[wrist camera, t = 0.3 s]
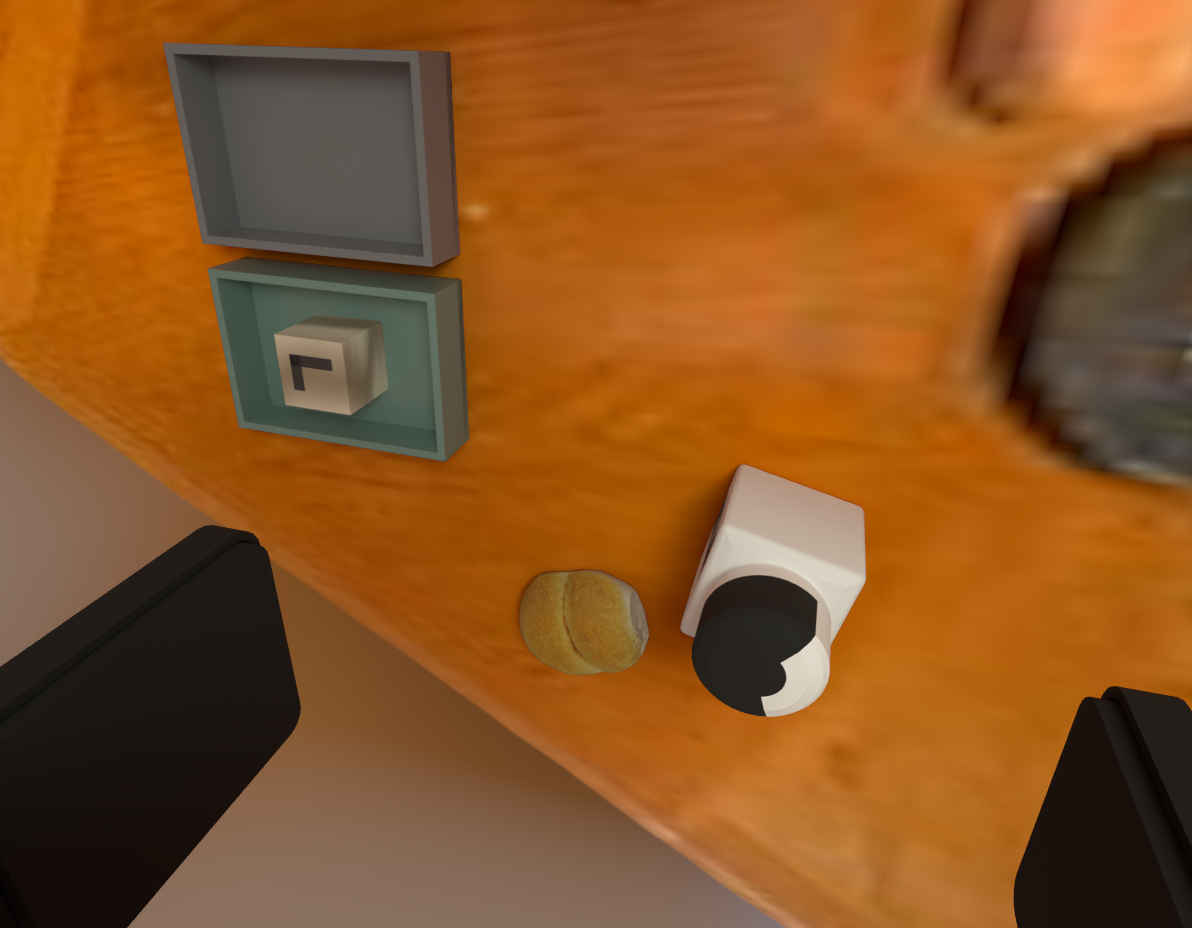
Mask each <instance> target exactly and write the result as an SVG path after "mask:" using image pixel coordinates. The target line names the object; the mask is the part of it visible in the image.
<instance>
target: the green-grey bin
mask: <svg viewBox="0 0 1192 928" xmlns="http://www.w3.org/2000/svg"><path fill="white" fill-rule="evenodd" d="M208 273H209V278H210V283H211V288H212V293H213V298H214V303H215V308H216V313H217V318H218V323H219V328H220V333H221V338H222V344H223V349H224V354H225V359H226V364H227V369H228V374H229V379H230V384H231V389H232V394H233V399H234V404H235V409H236V414H237V420H238V425H239V427H241V428H247V429H253V430H259V431H265V432H271V433H277V434H283V435H289V436H295V437H301V438H307V439H313V440H319V441H325V442H331V443H337V444H343V445H349V446H355V447H361V448H367V449H373V450H379V451H385V452H391V453H397V454H403V455H409V456H415V457H421V458H427V459H433V460H439V461H445V462H446V461H447V460H448V459H449V458H450V457H451V456H452V455H453V454H454V453H455V452H456V451H457V450H458V449H459V448H460V447H461V446H462V445H463V444H464V443H465V442H466V441H467V440H468V439H469V426H468V406H467V386H466V366H465V346H464V326H463V306H462V286H461V279H452V278H442V277H433V276H423V275H414V274H404V273H395V272H386V271H376V270H367V269H357V268H348V267H338V266H329V265H319V264H310V263H300V262H291V261H281V260H272V259H262V258H253V257H244V258H241V259H237V260H234V261H231V262H228V263H225V264H221V265H218V266H215V267H212V268H208ZM317 314H325V315H333V316H341V317H349V318H357V319H365V320H374V321H382V327H383V337H384V347H385V357H386V367H387V377H388V387H389V389H388V390H386V391H385V392H383V393H382V394H381V395H379V396H378V397H376V398H375V399H373V400H372V401H370V402H369V403H368V404H366V405H365V406H363V407H362V408H360V409H359V410H357V411H356V412H355V413H353V414H352V415H346V414H340V413H334V412H327V411H321V410H314V409H308V408H301V407H295V406H289V405H286V404H285V398H284V392H283V386H282V380H281V374H280V367H279V361H278V355H277V349H276V343H275V337H274V334H276V333H278V332H280V331H282V330H284V329H287V328H289V327H291V326H293V325H295V324H298V323H300V322H302V321H304V320H306V319H308V318H311V317H313V316H315V315H317Z"/></svg>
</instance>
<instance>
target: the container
mask: <svg viewBox="0 0 1192 928" xmlns="http://www.w3.org/2000/svg"><path fill="white" fill-rule="evenodd" d="M865 580H866V567H865V532H864V511H863V509H862V508H861V507H860V506H858V505H855V504H852V503H849V502H847V501H844V500H841V499H838V498H836V497H833V496H830V495H827V494H825V493H822V492H819V491H817V490H814V489H811V488H808V487H806V486H803V485H800V484H797V483H795V482H792V481H789V480H786V479H784V478H781V477H778V476H776V475H773V474H770V473H767V472H765V471H762V470H759V469H756V468H754V467H751V466H748V465H744V464H742V465H740V466H739V467H738V468H737V470H736V473H735V475H734V478H733V480H732V483H731V485H730V487H729V490H728V492H727V495H726V497H725V500H724V502H723V505H722V507H721V510H720V512H719V515H718V517H717V520H716V522H715V525H714V527H713V530H712V532H711V535H710V537H709V540H708V542H707V545H706V547H705V550H704V552H703V555H702V557H701V560H700V563H699V566H698V570H697V573H696V576H695V579H694V583H693V586H692V589H691V592H690V596H689V599H688V602H687V605H686V609H685V612H684V615H683V618H682V622H681V631H682V632H683V633H685V634H687V635H689V636H692V637H695V638H694V641H693V646H692V661H693V666H694V669H695V672H696V674H697V676H698V677H699V679H700V681H701V682H702V684H703V685H704V686H705V687H706V688H707V689H708V691H709V692H710V693H712V694H713V695H714V696H715V697H716V698H717V699H719V700H720V701H721V702H723V703H724V704H726V705H728V706H730V707H731V708H733V709H736V710H738V711H741V712H744V713H747V714H751V715H757V716H781V715H786V714H790V713H793V712H796V711H798V710H801V709H803V708H805V707H807V706H808V705H810V704H811V703H813V702H814V701H815V700H816V699H817V698H818V697H819V696H820V695H821V694H822V692H823V690H824V689H825V687H826V684H827V682H828V678H829V670H830V645H831V643H832V641H833V640H834V638H835V636H836V634H837V632H838V630H839V629H840V627H841V625H842V623H843V621H844V620H845V618H846V616H847V614H848V612H849V610H850V609H851V607H852V605H853V603H854V601H855V599H856V598H857V596H858V594H859V592H860V590H861V589H862V587H863V585H864V583H865Z"/></svg>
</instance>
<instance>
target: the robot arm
mask: <svg viewBox="0 0 1192 928" xmlns="http://www.w3.org/2000/svg"><path fill="white" fill-rule="evenodd" d="M300 709H301V707H300V700H299V695H298V691H297V686H296V681H295V676H294V672H293V667H292V662H291V658H290V653H289V648H288V644H287V639H286V634H285V629H284V625H283V620H282V615H281V611H280V606H279V602H278V597H277V592H276V588H275V583H274V578H273V573H272V569H271V564H270V559H269V555H268V553H267V551H266V549H265V548H264V547H262V546H261V545H260V543H259V540H258V539H257V537H256V536H255V535H254V534H252V533H250V532H247V531H242V530H236V529H231V528H225V527H219V526H214V525H209V526H204V527H202V528H199V529H197V530H196V531H194V532H193V533H192V534H190V535H189V536H188V537H186V538H185V539H183V540H182V541H180V542H179V543H178V544H176V545H174V546H173V547H172V548H170V549H169V550H167V551H166V552H164V553H163V554H161V555H160V556H159V557H157V558H156V559H154V560H153V561H151V562H150V563H149V564H147V565H146V566H144V567H143V568H142V569H140V570H139V571H137V572H136V573H134V574H133V575H131V576H130V577H129V578H127V579H126V580H124V581H123V582H122V583H120V584H119V585H117V586H116V587H114V588H113V589H112V590H110V591H108V592H107V593H106V594H104V595H103V596H101V597H100V598H99V599H97V600H96V601H94V602H93V603H91V604H90V605H88V606H87V607H85V608H84V609H83V610H81V611H80V612H78V613H77V614H75V615H74V616H73V617H71V618H70V619H68V620H67V621H65V622H64V623H62V624H61V625H60V626H58V627H57V628H55V629H54V630H52V631H51V632H50V633H48V634H47V635H46V636H44V637H43V638H41V639H40V640H38V641H37V642H35V643H34V644H33V645H31V646H29V647H28V648H27V649H25V650H24V651H22V652H21V653H19V654H18V655H17V656H15V657H14V658H12V659H11V660H9V661H8V662H7V663H5V664H4V665H2V666H1V667H0V928H127V927H128V926H129V925H130V924H131V922H132V921H133V920H134V919H135V918H136V917H137V915H138V914H139V913H140V912H141V911H142V909H143V908H144V907H145V906H146V905H147V904H148V902H149V901H150V900H151V899H152V898H153V896H154V895H155V894H156V893H157V892H158V891H159V889H160V888H161V887H162V886H163V885H164V883H165V882H166V881H167V880H168V879H169V878H170V876H171V875H172V874H173V873H174V872H175V871H176V869H177V868H178V867H179V866H180V865H181V863H182V862H183V861H184V860H185V859H186V858H187V856H188V855H189V854H190V853H191V852H192V850H193V849H194V848H195V847H196V846H197V845H198V843H199V842H200V841H201V840H202V839H203V838H204V836H205V835H206V834H207V833H208V832H209V830H210V829H211V828H212V827H213V826H214V824H215V823H216V822H217V821H218V820H219V819H220V817H221V816H222V815H223V814H224V813H225V812H226V810H227V809H228V808H229V807H230V806H231V804H232V803H233V802H234V801H235V800H236V798H237V797H238V796H239V795H240V794H241V793H242V791H243V790H244V789H245V788H246V787H247V785H248V784H249V783H250V782H251V781H252V780H253V778H254V777H255V776H256V775H257V774H258V773H259V771H260V770H261V769H262V768H263V767H264V766H265V764H266V763H267V762H268V761H269V760H270V758H271V757H272V756H273V755H274V754H275V752H276V751H277V750H278V749H279V748H280V747H281V745H282V744H283V743H284V742H285V741H286V740H287V738H288V737H289V736H290V735H291V733H292V732H293V730H294V729H295V727H296V724H297V723H298V719H299V716H300ZM1014 910H1015V917H1016V922H1017V927H1018V928H1192V711H1191V709H1190V708H1189V706H1188V705H1187V704H1186V702H1185V701H1184V700H1182V699H1180V698H1178V697H1174V696H1168V695H1162V694H1157V693H1151V692H1145V691H1140V690H1134V689H1129V688H1123V687H1117V686H1113V687H1109V688H1108V689H1107V690H1106V691H1105V692H1104V693H1103V695H1102V697H1101V699H1099V698H1094V697H1086V698H1085V699H1083V700H1082V702H1081V704H1080V706H1079V708H1078V711H1077V713H1076V716H1075V719H1074V722H1073V724H1072V727H1071V730H1070V732H1069V735H1068V738H1067V740H1066V743H1065V746H1064V748H1063V751H1062V754H1061V756H1060V759H1059V762H1058V764H1057V767H1056V770H1055V772H1054V775H1053V778H1052V780H1051V783H1050V786H1049V788H1048V791H1047V794H1046V797H1045V799H1044V802H1043V805H1042V807H1041V810H1040V813H1039V815H1038V818H1037V821H1036V823H1035V826H1034V829H1033V831H1032V834H1031V837H1030V839H1029V842H1028V845H1027V847H1026V850H1025V853H1024V855H1023V858H1022V861H1021V863H1020V866H1019V869H1018V872H1017V875H1016V878H1015V885H1014Z"/></svg>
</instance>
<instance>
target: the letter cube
mask: <svg viewBox="0 0 1192 928" xmlns="http://www.w3.org/2000/svg"><path fill="white" fill-rule="evenodd" d="M274 337H275V343H276V349H277V355H278V361H279V367H280V374H281V380H282V386H283V392H284V398H285V404H286V405H289V406H295V407H301V408H308V409H314V410H321V411H327V412H334V413H340V414H346V415H352V414H353V413H355V412H356V411H357V410H359V409H360V408H362V407H363V406H365V405H366V404H368V403H369V402H370V401H372V400H373V399H375V398H376V397H378V396H379V395H381V394H382V393H383V392H385V391H386V390H388V389H389V387H388V377H387V367H386V357H385V347H384V337H383V327H382V321H374V320H365V319H357V318H349V317H341V316H333V315H325V314H317V315H315V316H313V317H311V318H308V319H306V320H304V321H302V322H300V323H298V324H295V325H293V326H291V327H289V328H287V329H284V330H282V331H280V332H278V333H276V334H274Z"/></svg>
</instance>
